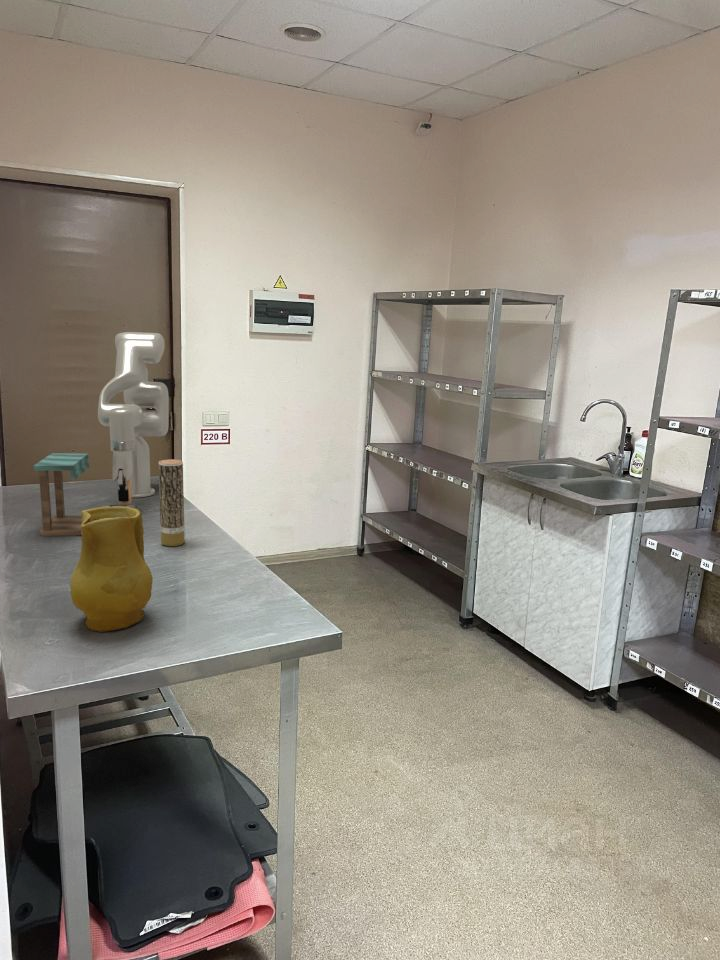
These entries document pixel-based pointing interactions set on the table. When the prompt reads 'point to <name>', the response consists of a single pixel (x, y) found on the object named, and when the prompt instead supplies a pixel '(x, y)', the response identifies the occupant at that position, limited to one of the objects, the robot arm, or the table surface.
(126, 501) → the peg
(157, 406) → the robot arm
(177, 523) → the paper tube
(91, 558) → the pitcher
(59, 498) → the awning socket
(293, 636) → the table surface
